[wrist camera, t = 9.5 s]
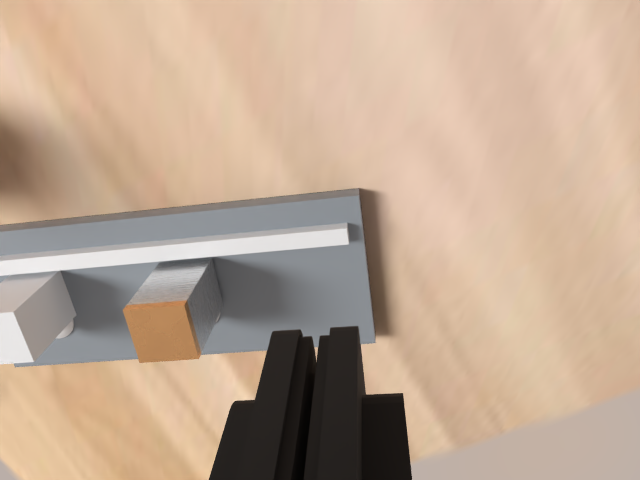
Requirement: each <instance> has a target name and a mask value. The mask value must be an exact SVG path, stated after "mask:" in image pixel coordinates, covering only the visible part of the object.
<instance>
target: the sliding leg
mask: <svg viewBox="0 0 640 480" xmlns="http://www.w3.org/2000/svg"><path fill="white" fill-rule="evenodd" d="M222 307H223V302H222V298H221V293H220V289H219V285H218V281H217V277H216V272H215V268H214V264H213V260H212V258H204V259H193V260H182V261H171V262H160V263H159V264H158V265H157V266H156V268H155V269H154V270H153V271H152V273H151V274H150V275H149V277H148V278H147V279H146V280H145V282H144V283H143V284H142V286H141V287H140V288H139V290H138V291H137V292H136V293H135V295H134V296H133V297H132V299H131V300H130V301H129V303H128V304H127V305H126V306H125V308H124V309H123V313H124V316H125V319H126V322H127V325H128V328H129V331H130V334H131V338H132V341H133V344H134V347H135V350H136V353H137V356H138V359H139V362H140V363H144V362H159V361H174V360H189V359H199V357H200V355H201V353H202V351H203V349H204V346H205V344H206V342H207V340H208V338H209V336H210V333H211V331H212V329H213V327H214V325H215V322H216V320H217V318H218V316H219V314H220V312H221V309H222Z"/></svg>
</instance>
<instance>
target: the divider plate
mask: <svg viewBox="0 0 640 480" xmlns="http://www.w3.org/2000/svg"><path fill="white" fill-rule="evenodd" d="M204 258H212V260H213V264H214V268H215V272H216V277H217V281H218V285H219V289H220V293H221V298H222V302H223V307H222V309H221V312H220V314H219V316H218V318H217V320H216V322H215V325H214V327H213V329H212V331H211V333H210V336H209V338H208V340H207V342H206V344H205V346H204V349H203V351H202V353H201V355H205V354H220V353H235V352H250V351H265V350H268V346H269V342H270V337H271V334H272V332H273V331H280V330H297V329H301V331H302V334H303V337H304V336H312V338H313V343H314V347H318V346H319V338H320V336H321V335H329V333H330V328H331V327H346V326H358V327H359V334H360V344H369V343H375V326H374V317H373V308H372V299H371V290H370V281H369V272H368V263H367V255H366V246H365V237H364V228H363V219H362V210H361V201H360V192H359V188H357V189H347V190H337V191H328V192H318V193H308V194H299V195H289V196H279V197H270V198H260V199H250V200H240V201H231V202H221V203H211V204H202V205H192V206H182V207H173V208H163V209H153V210H143V211H134V212H124V213H114V214H105V215H95V216H85V217H76V218H66V219H56V220H46V221H37V222H27V223H17V224H8V225H0V364H12V363H14V366H15V367H25V366H40V365H55V364H70V363H85V362H100V361H115V360H130V359H138V356H137V353H136V350H135V347H134V344H133V341H132V338H131V334H130V331H129V328H128V325H127V322H126V319H125V316H124V313H123V309H124V308H125V306H126V305H127V304H128V303H129V301H130V300H131V299H132V297H133V296H134V295H135V293H136V292H137V291H138V290H139V288H140V287H141V286H142V284H143V283H144V282H145V280H146V279H147V278H148V277H149V275H150V274H151V273H152V271H153V270H154V269H155V268H156V266H157V265H158V264H159V263H160V262H171V261H182V260H193V259H204Z"/></svg>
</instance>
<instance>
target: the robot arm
mask: <svg viewBox="0 0 640 480" xmlns="http://www.w3.org/2000/svg"><path fill="white" fill-rule="evenodd" d="M209 480H412V476H411V465H410V455H409V446H408V436H407V427H406V417H405V408H404V398H403V393H395V394H374V395H366V391H365V382H364V372H363V363H362V353H361V344H360V334H359V327H358V326H346V327H331V328H330V333H329V335H321V336H320V338H319V346H318V355H317V363H316V356H315V349H314V343H313V338H312V336H304V337H303V334H302V331H301V329H297V330H280V331H273V332H272V334H271V337H270V342H269V346H268V350H267V354H266V358H265V362H264V366H263V370H262V374H261V378H260V382H259V386H258V390H257V394H256V398H255V400H245V401H235V402H234V403H233V404H232V406H231V408H230V411H229V415H228V418H227V421H226V424H225V428H224V431H223V434H222V438H221V441H220V444H219V448H218V451H217V454H216V458H215V461H214V464H213V468H212V471H211V474H210V478H209Z"/></svg>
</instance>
